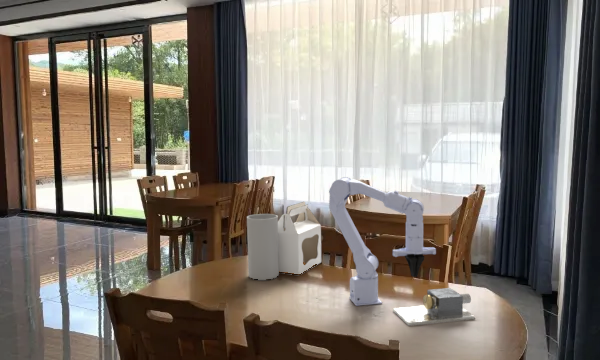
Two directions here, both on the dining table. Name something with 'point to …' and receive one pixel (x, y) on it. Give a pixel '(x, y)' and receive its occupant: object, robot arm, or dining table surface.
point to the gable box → (298, 240)
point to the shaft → (431, 301)
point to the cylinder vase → (263, 246)
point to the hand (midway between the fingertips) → (414, 276)
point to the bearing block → (436, 309)
